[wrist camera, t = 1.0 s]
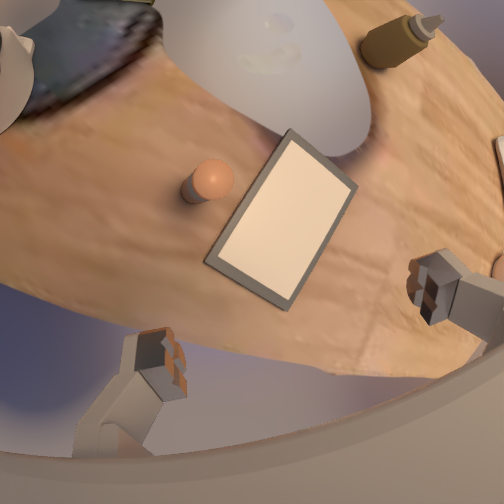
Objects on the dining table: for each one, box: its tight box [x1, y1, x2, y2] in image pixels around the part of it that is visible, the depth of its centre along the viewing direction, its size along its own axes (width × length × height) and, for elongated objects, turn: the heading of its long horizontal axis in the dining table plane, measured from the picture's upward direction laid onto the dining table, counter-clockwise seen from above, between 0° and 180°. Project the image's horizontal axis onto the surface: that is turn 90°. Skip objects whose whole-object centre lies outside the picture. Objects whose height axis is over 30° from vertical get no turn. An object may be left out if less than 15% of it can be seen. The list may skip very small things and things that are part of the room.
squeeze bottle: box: [361, 14, 444, 68], centre depth 40 cm, size 8×8×18 cm
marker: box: [181, 159, 234, 204], centre depth 35 cm, size 4×4×12 cm
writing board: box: [204, 128, 359, 312], centre depth 45 cm, size 14×22×1 cm, turn 147°
